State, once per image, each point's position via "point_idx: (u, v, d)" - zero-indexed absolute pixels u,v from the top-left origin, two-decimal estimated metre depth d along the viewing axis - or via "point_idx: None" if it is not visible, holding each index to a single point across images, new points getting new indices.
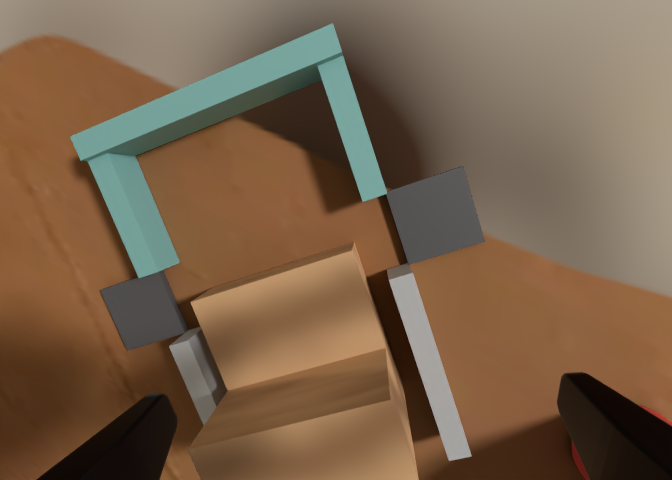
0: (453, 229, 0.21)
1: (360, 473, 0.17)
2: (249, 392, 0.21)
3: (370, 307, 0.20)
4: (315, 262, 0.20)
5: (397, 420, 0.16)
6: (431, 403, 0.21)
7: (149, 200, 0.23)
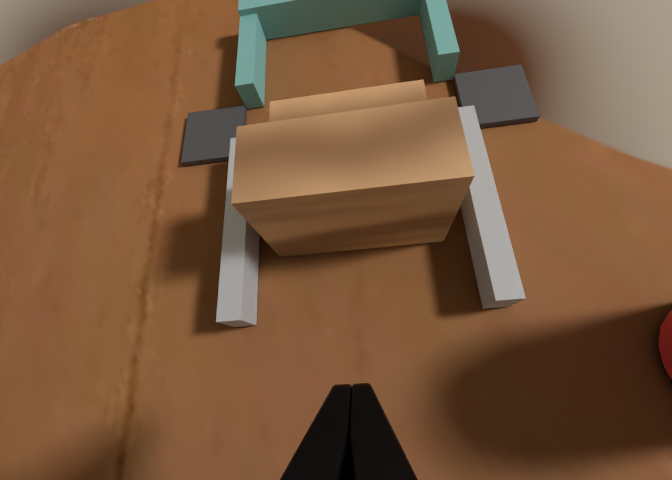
0: (511, 104, 0.24)
1: (409, 163, 0.15)
2: None
3: None
4: (389, 85, 0.23)
5: (458, 116, 0.16)
6: (480, 225, 0.19)
7: (263, 60, 0.29)
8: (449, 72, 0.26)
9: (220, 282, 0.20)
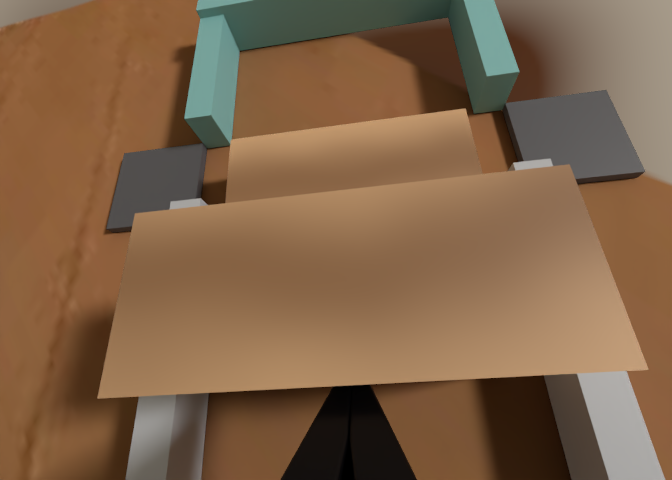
0: (597, 151, 0.16)
1: (485, 323, 0.07)
2: None
3: None
4: (412, 117, 0.15)
5: (584, 209, 0.07)
6: (583, 385, 0.11)
7: (232, 79, 0.21)
8: (498, 100, 0.17)
9: (129, 469, 0.12)
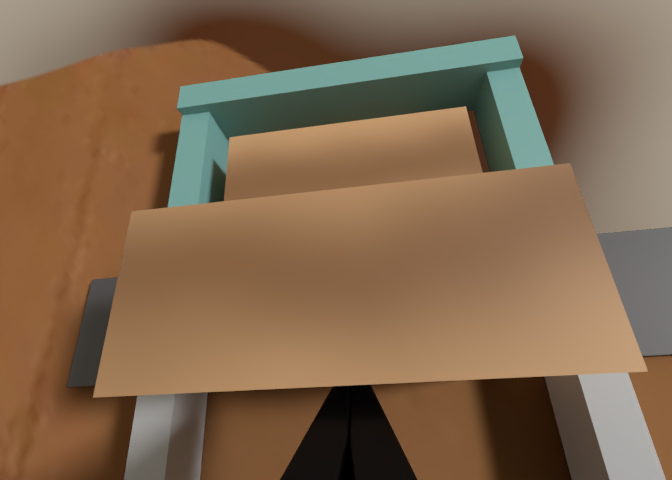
0: (669, 316, 0.13)
1: (483, 323, 0.07)
2: None
3: None
4: (412, 115, 0.15)
5: (584, 209, 0.07)
6: None
7: (221, 184, 0.18)
8: None
9: None
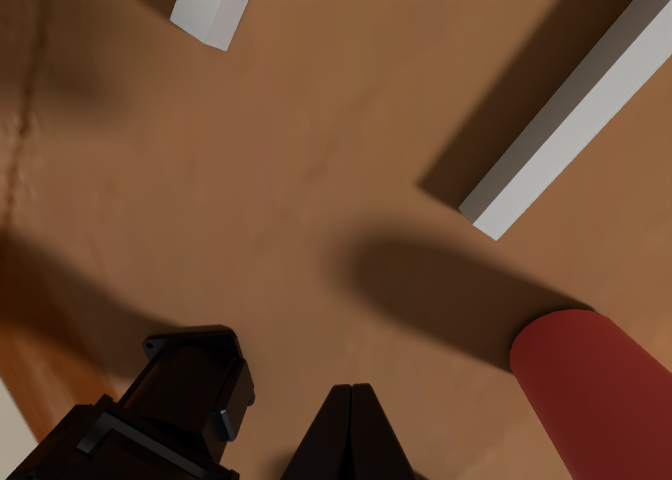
0: None
1: None
2: None
3: None
4: None
5: None
6: (543, 146, 0.14)
7: None
8: None
9: None
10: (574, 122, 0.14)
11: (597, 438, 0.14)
